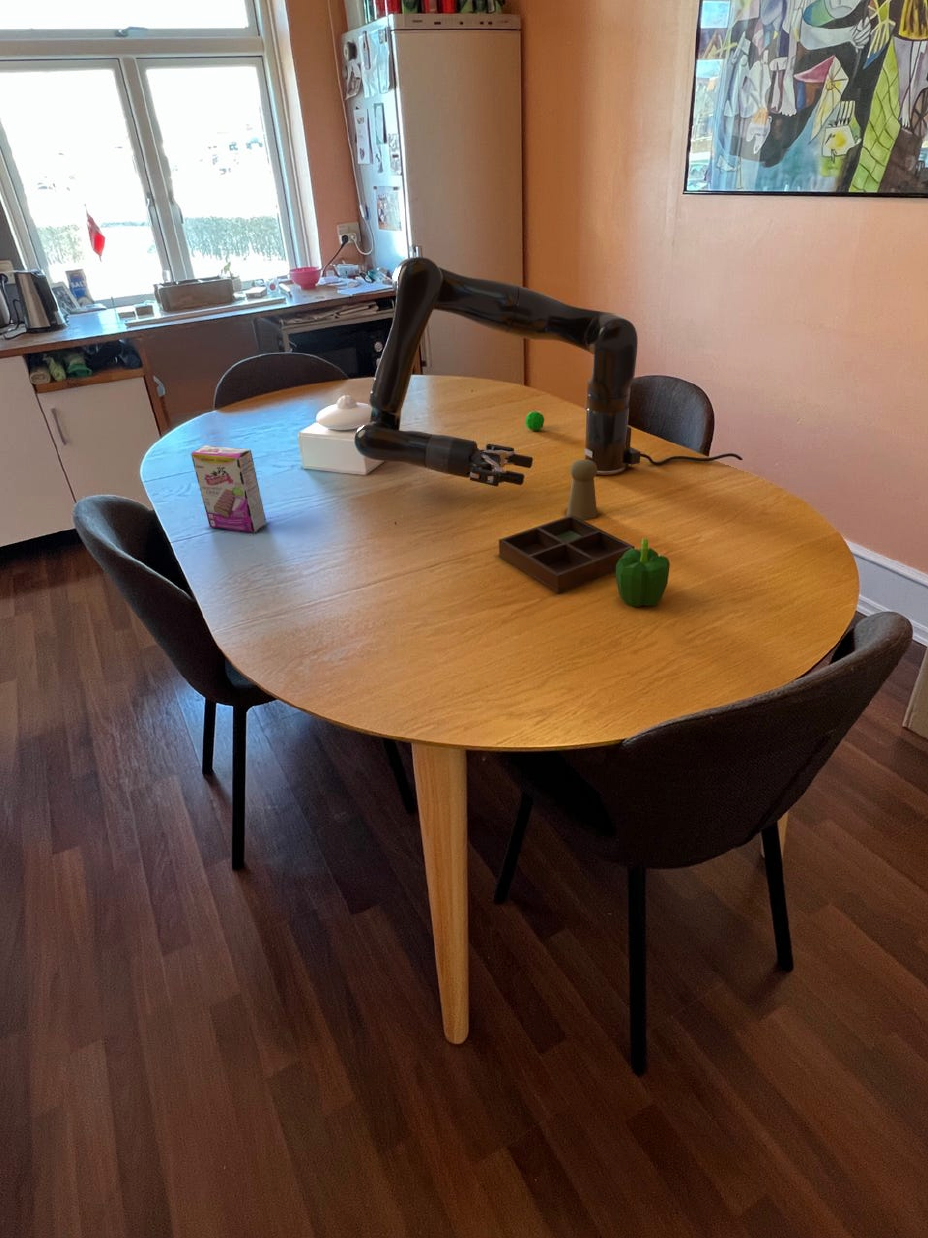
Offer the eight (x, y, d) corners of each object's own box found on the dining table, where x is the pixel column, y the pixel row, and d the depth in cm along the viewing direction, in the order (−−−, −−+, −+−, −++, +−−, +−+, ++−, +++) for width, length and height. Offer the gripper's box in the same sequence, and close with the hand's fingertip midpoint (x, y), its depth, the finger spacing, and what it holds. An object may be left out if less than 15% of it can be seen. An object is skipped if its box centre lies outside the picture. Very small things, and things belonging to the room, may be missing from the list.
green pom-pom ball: (547, 428, 197) (547, 410, 195) (538, 433, 194) (538, 415, 191) (530, 425, 200) (530, 408, 197) (522, 431, 196) (521, 413, 194)
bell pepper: (656, 618, 117) (661, 562, 111) (607, 606, 120) (610, 551, 115) (673, 594, 122) (680, 539, 117) (626, 583, 126) (630, 529, 121)
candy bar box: (208, 529, 154) (188, 452, 145) (222, 519, 158) (204, 444, 149) (254, 534, 151) (237, 456, 142) (268, 524, 155) (251, 447, 146)
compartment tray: (571, 531, 144) (571, 514, 142) (633, 563, 132) (634, 546, 130) (499, 556, 137) (498, 539, 135) (557, 593, 125) (558, 575, 123)
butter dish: (302, 468, 181) (291, 403, 173) (340, 444, 195) (331, 382, 187) (366, 475, 175) (357, 408, 167) (399, 449, 189) (393, 386, 181)
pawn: (596, 520, 148) (598, 467, 142) (565, 519, 149) (567, 466, 143) (597, 507, 153) (600, 456, 147) (568, 506, 154) (569, 455, 148)
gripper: (442, 451, 144) (523, 467, 142) (462, 425, 156) (537, 440, 153) (439, 486, 149) (518, 502, 146) (458, 459, 160) (532, 473, 158)
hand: (527, 471), depth 150 cm, fingers open, 8 cm apart
